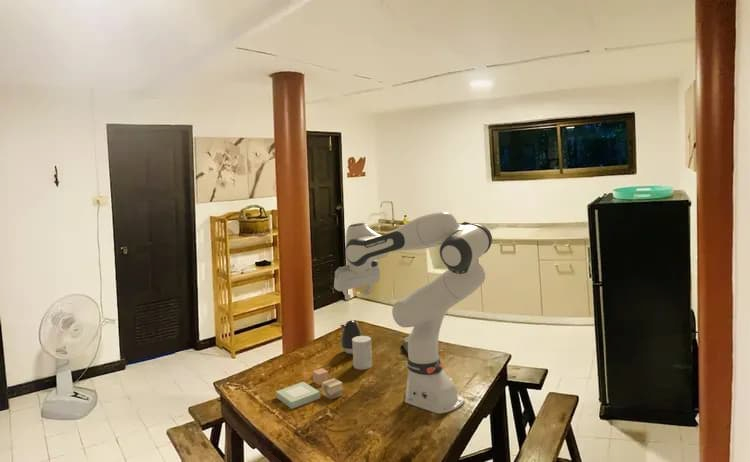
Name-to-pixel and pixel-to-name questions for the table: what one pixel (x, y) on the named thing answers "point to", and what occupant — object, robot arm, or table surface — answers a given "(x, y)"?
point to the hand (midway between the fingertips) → (357, 296)
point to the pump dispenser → (349, 335)
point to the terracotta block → (320, 376)
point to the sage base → (297, 395)
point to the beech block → (332, 388)
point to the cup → (362, 352)
